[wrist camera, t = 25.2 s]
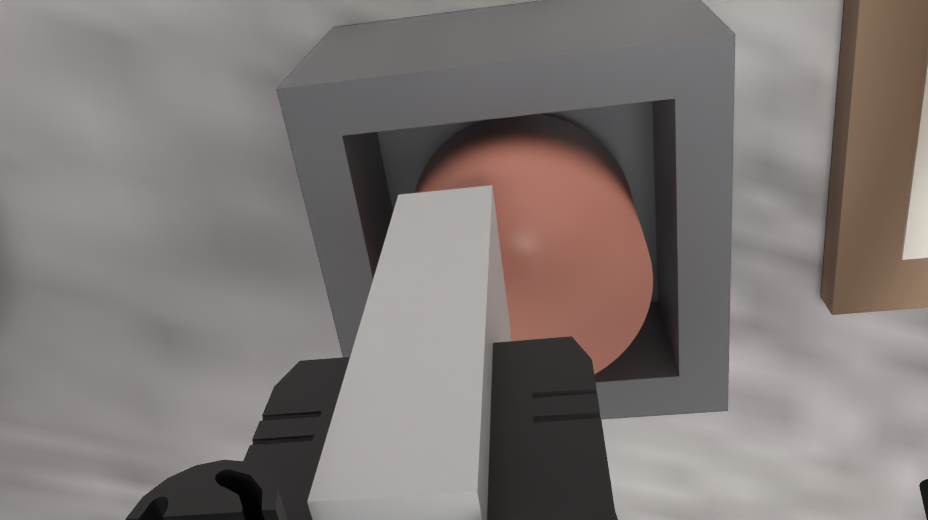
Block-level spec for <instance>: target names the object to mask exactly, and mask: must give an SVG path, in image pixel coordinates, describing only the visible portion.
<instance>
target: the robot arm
mask: <svg viewBox="0 0 928 520" xmlns="http://www.w3.org/2000/svg"><path fill="white" fill-rule="evenodd" d="M262 416H263V421H260V422H259V425H258V427H257V430H256V432H255V434H254V437H253V445H250V446H249V449H248V451H247V454H246V456H245V458H244V461H232V460H221V461H216V462H211V463H206V464H201V465H196V466H194V467H191V468H189V469H187V470H185V471H183V472H180V473H178V474H176V475H174V476H172V477H169V478H167V479H166V480H165V481H163V482H162V483H161V484H159V485H158V486H157V487H155V488H154V489H153V490H151V491H150V492H149V493H147V494H146V495H145V496H143V497H142V499H141V500H140V501H139V503H138V504H137V505H136V506H135V508H134V509H133V510H132V511H131V513H130V514H129V515H128V517H127V518H126V520H618V519H617V516H616V513H615V509H614V502H613V495H612V489H611V482H610V475H609V469H608V462H607V455H606V449H605V442H604V435H603V429H602V422H601V417H600V409H599V402H598V395H597V389H596V382H595V375H594V369H593V362H592V359H591V358H590V356H589V355H588V354H587V353H586V352H585V351H584V350H583V348H582V347H581V346H580V345H579V344H578V343H577V342H576V341H575V339H574V338H573V337H572V336H570V337H557V338H545V339H533V340H520V341H511V330H510V322H509V314H508V306H507V298H506V290H505V282H504V274H503V266H502V258H501V250H500V242H499V234H498V226H497V218H496V210H495V202H494V194H493V186H492V185H489V186H479V187H469V188H460V189H450V190H440V191H430V192H420V193H410V194H401V195H398V198H397V201H396V204H395V208H394V211H393V214H392V218H391V221H390V225H389V228H388V231H387V235H386V238H385V241H384V245H383V248H382V252H381V255H380V258H379V262H378V265H377V268H376V272H375V275H374V278H373V282H372V285H371V289H370V292H369V295H368V299H367V302H366V305H365V309H364V312H363V316H362V319H361V322H360V326H359V329H358V332H357V336H356V339H355V342H354V346H353V349H352V353H351V356H350V357H343V358H331V359H318V360H306V361H299V362H298V363H297V364H296V365H295V366H294V367H293V368H292V369H291V370H290V371H289V372H288V373H287V374H286V375H285V376H284V377H283V378H282V379H281V380H280V381H279V382H278V383H277V384H276V385H275V386H274V389H273V391H272V393H271V396H270V398H269V401H268V403H267V405H266V408H265V410H264V413H263V415H262Z"/></svg>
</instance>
